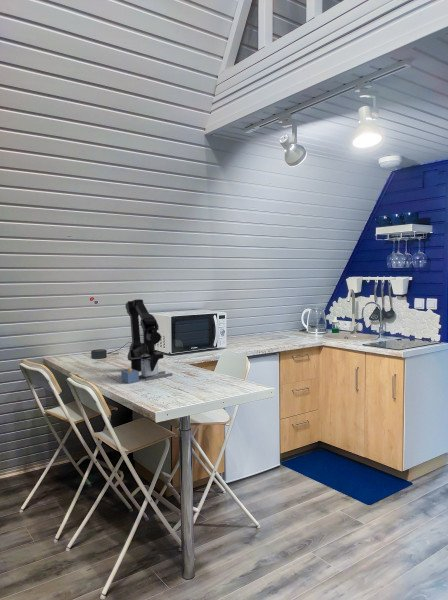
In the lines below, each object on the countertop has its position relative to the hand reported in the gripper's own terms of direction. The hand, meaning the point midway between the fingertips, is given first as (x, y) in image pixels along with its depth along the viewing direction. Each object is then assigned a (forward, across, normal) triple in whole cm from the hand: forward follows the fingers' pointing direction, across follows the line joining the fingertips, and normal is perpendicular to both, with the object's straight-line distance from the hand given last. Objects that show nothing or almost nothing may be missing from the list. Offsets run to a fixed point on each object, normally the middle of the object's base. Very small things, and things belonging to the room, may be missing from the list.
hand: (149, 370), depth 236 cm
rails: (+4, 0, +3) cm, 5 cm away
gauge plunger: (+1, 0, -12) cm, 12 cm away
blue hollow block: (+4, 0, -12) cm, 12 cm away
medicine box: (+3, 0, 0) cm, 3 cm away
